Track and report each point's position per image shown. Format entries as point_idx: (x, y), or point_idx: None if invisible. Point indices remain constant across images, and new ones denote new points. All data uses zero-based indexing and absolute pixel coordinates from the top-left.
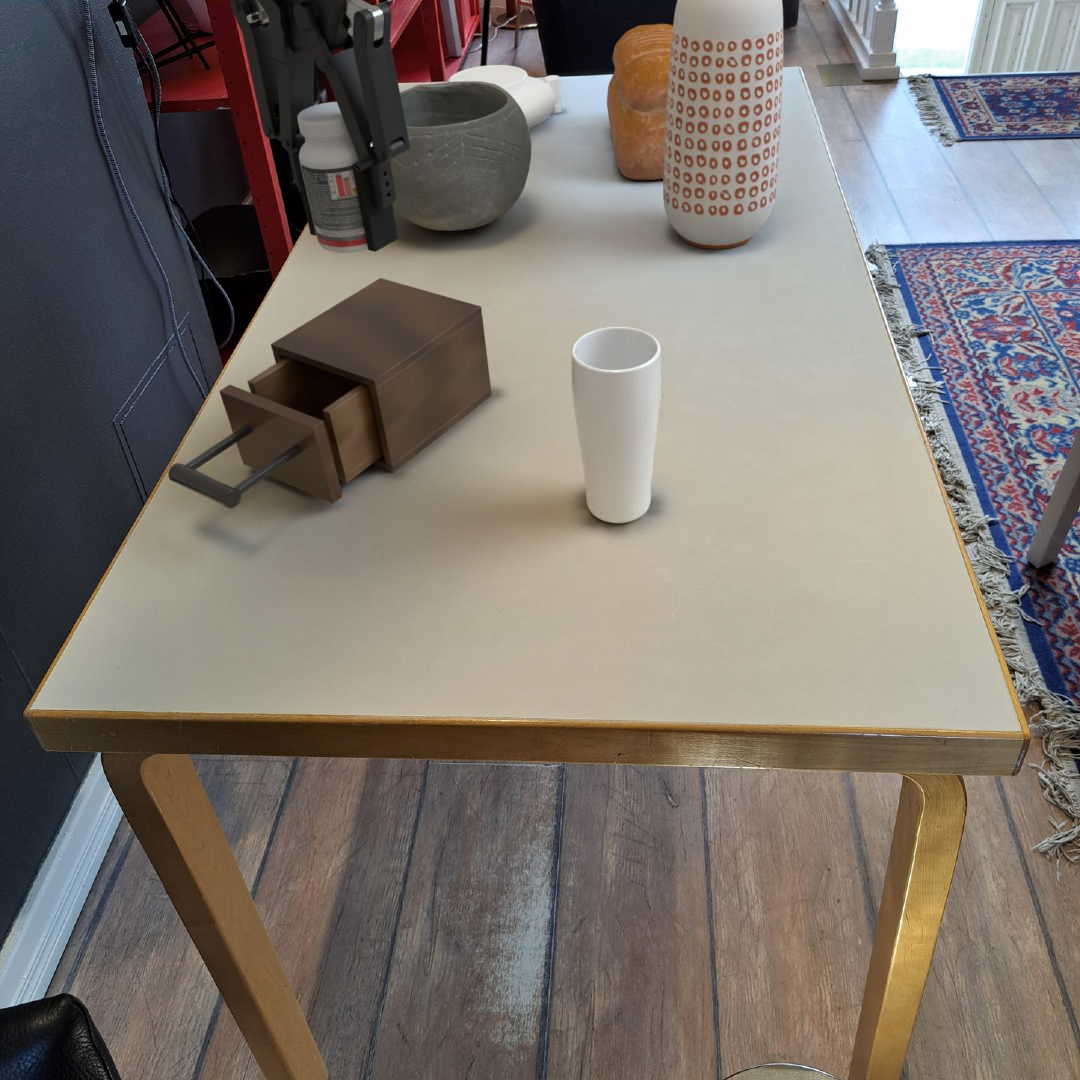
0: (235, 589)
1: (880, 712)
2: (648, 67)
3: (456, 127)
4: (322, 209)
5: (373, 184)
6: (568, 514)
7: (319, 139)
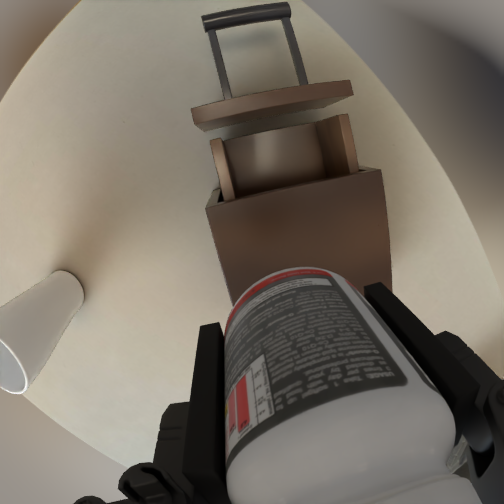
0: (180, 22)
1: None
2: None
3: (454, 468)
4: (294, 318)
5: (180, 445)
6: (77, 260)
7: None
